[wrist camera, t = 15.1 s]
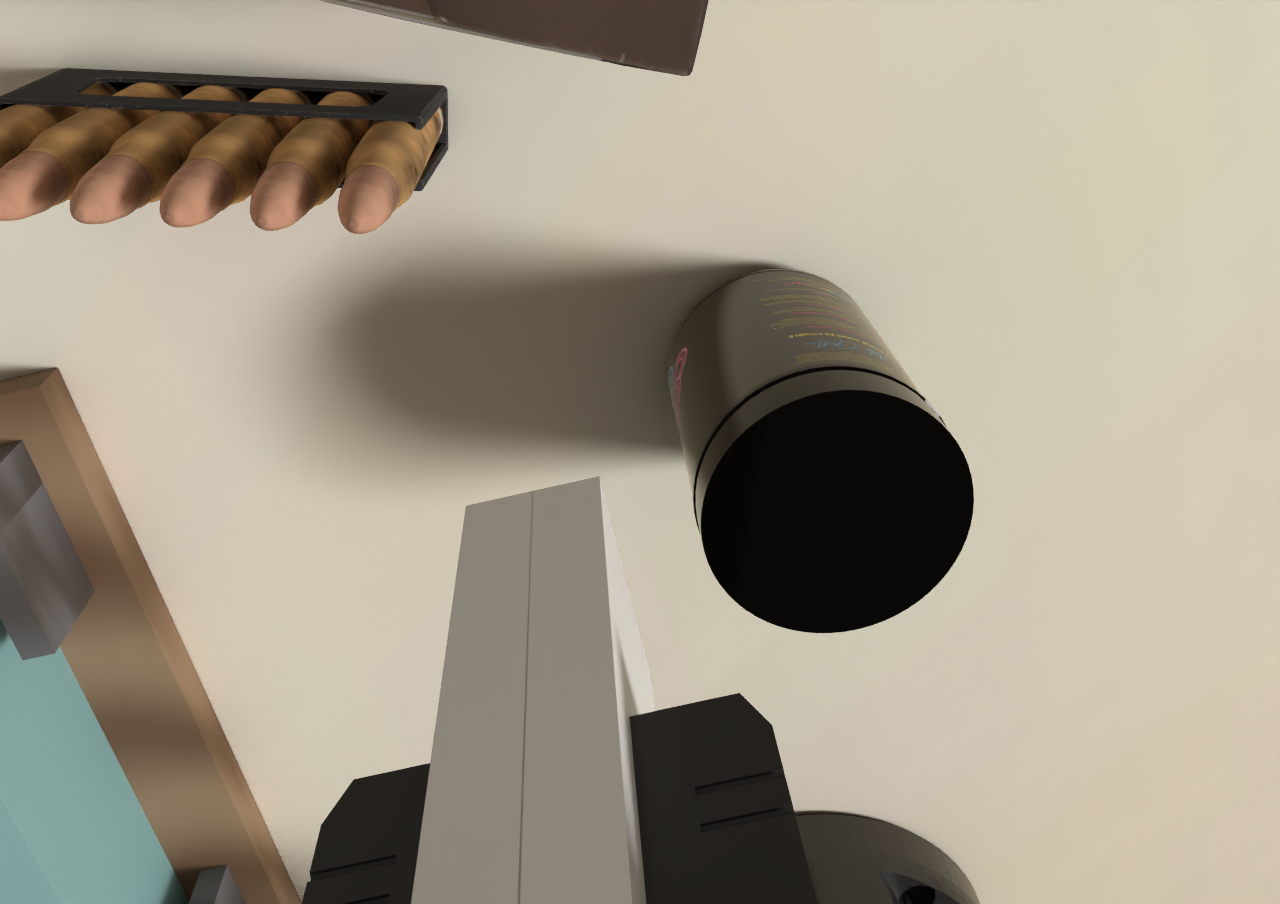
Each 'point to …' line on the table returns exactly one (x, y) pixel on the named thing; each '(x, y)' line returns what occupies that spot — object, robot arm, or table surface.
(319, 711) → the table surface
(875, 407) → the supplement container
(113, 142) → the ammunition clip
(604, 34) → the coffee box
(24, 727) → the slat
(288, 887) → the frame
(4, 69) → the table surface
